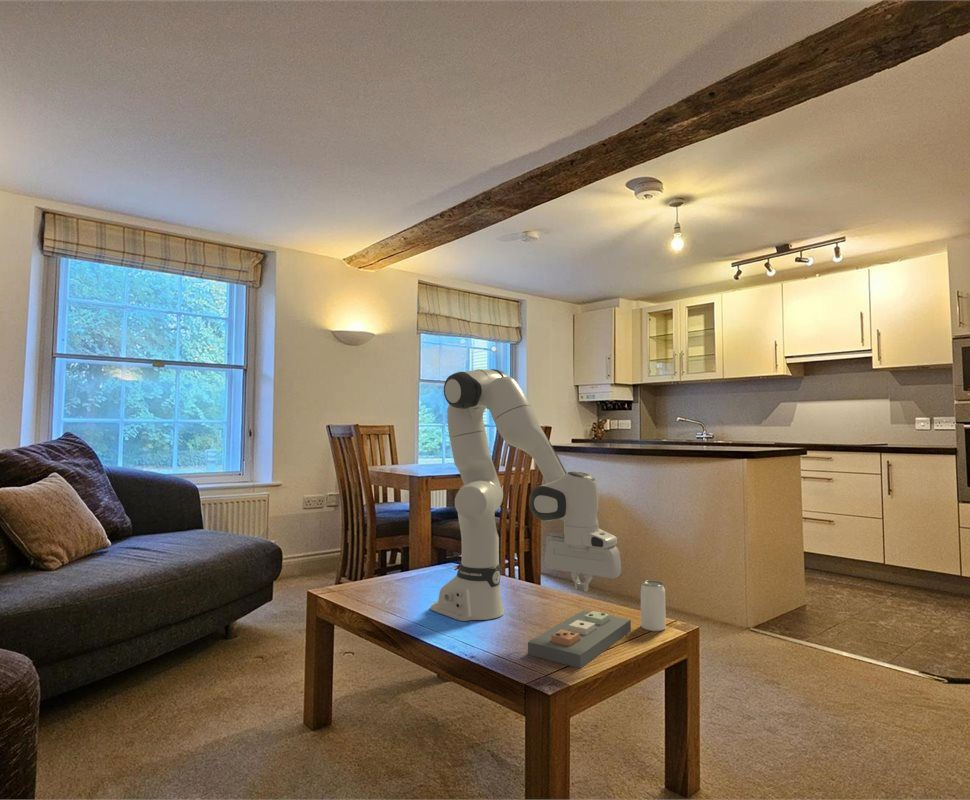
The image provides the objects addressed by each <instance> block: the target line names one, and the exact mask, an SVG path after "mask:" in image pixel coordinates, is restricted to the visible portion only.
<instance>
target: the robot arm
mask: <svg viewBox="0 0 970 800" xmlns="http://www.w3.org/2000/svg"><path fill="white" fill-rule="evenodd" d="M443 396H444V400H445V401H446V402H447V403H448V406H447V408H446V409H447V410H446V411H447V413H446V414H447V415H446V417H447V431H448V435H449V442H450V448H451V452H452V457H453V463H454V465H455V467H456V469H457V470H458V472H459V475H460V477H461V480H462V483H463V485H462V486H461V487H460V488H459V490H458V491H457V492H456V495H455V497H454V508H455V510H456V512H457V517H458V524H459V530H460V535H461V536H460V538H461V562H460V563H458V565H455V566H453V567H454V569H453V570H454V571H456V570H457V572H456V575H455V576H454V577H453V578H452V579H450V580H449V581H448V582H446V583H445V584H444V585H442V587H441V588H440V591H439V594H438V600H437V601H434V603H432V604H431V605H430V610H431V611H433V612H435V613H438V614H441V615H443V616H446V617H449V618H452V619H454V620H456V621H457V620H458V621H459V622H467V621H482V620H483V621H484V620H485V621H486V620H492V619H497V618H500V617H502V616H503V615H504V614H505V609H504V605H503V601H502V600H503V599H502V594H501V587H500V586H501V584H500V583H501V564H500V552H499V551H500V547H499V546H500V536H499V533H498V531H497V524H496V523H497V522H496V516H495V515H496V514H495V513H496V512H495V511H497V510H498V509H499V508H500V507H501V505H502V503H503V499H504V490H503V488H502V486H501V482H500V480H499V476H498V473H497V470H496V467H495V465H494V462H493V459H492V455H491V451H490V447H489V442H488V437H487V431H486V426H485V422H484V417H483V416H484V412H485V410H486V409H487V410H488V411H489V412H490V414H491V417H492V419H493V422H494V424H495V427H496V429H497V432H498V433H499V435H500V436H501V438H502V439H503V440H504V442H505V443H507V444H508V445H509V446H512V447H515V448H516V449H519V450H520V451H523V452H525V453H527V455H529V456H530V457H531V458H532V459H533V461H534V462H535V463H536V465H537V467H538V469H539V471H540V473H541V475H542V477H543V479H544V481H545V482H546V483H544V484H542V485H539V486H536V487H535V488H533V489H532V491H531V493H530V495H529V498H528V499H529V500H528V505H529V509H530V511H531V513H532V515H533V516H534V517H535V518H536V519H538V520H541V521H545V522H551V521H556V520H561V521H563V533H561V532H559V533H558V532H550V533H549V534H547V535H546V537H545V546H546V547H545V553H544V565H545V567H546V568H547V569H551V570H557V571H563V572H570V576H571V579H572V580H573V583H574V588H575V589H574V590H575V591H579V592H583V593H584V592H585V593H586V592H588V591H589V584H590V582H591V581H592V579H593V578H594V577H593V576H596V577H599V578H601V577H603V578H606V579H607V578H608V579H616V578H617V577H619V576H620V575H621V573H622V561H621V560H622V559H621V553H620V550H619V548H618V547H617V546H616V545H617V544H618V537H617V536H615V535H614V534H611V533H609V532H608V531H605V530H603V529H601V528H600V525H599V519H598V511H599V493H598V491H599V490H598V485H597V482H596V479H595V477H593V475H590V474H589V473H585V472H582V471H581V472H580V471H568V472H567V471H566V469H565V467H564V466H563V464H562V462H561V459H560V458H559V456H558V454H557V452H556V451H555V449H554V447H553V445H552V443H551V441H550V440H549V438H548V436H546V435H547V434H545V432H544V430H543V429H542V427H541V425H540V423H539V421H538V419H537V417H536V415H535V412H534V411H533V408H532V406H531V403H530V402H529V400H528V397H527V396H526V393H524V391H523V389H522V387H521V386H520V385H519V383H518V382H517V380H515V379H514V378H513V377H511V376H508V374H507V373H505V372H504V371H503V370H502V371H501V370H500V369H495V368H492V369H486V368H485V369H484V368H481V369H479V368H478V369H474V370H473V369H472V370H467V371H458V372H454V373H452V374H450V375H449V376H448V377H447V378H446V380H445V381H444V384H443ZM580 574H582V575H583V578H584V579H585V580H584V582H581V580H580V577H579V576H580Z"/></svg>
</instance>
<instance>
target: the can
mask: <svg viewBox="0 0 970 800" xmlns="http://www.w3.org/2000/svg"><path fill="white" fill-rule="evenodd" d="M666 623H667V621H666V589H665V587H664V583H663V582H660V581H657V580H644V581H642V582H641V587H640V626H641V628H642V629H644V630H645V631H648V630H649V632H662V631H665V629H666Z"/></svg>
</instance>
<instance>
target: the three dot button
mask: <svg viewBox="0 0 970 800" xmlns="http://www.w3.org/2000/svg"><path fill="white" fill-rule="evenodd" d="M578 641H579V633H575V632H570V631H566V630H559V631H558V632H556V633H554V634H553V635H551V642H553V643H557V644H561V645H565V646H569V647H571V646H572V645H574V644H575V643H577V642H578Z"/></svg>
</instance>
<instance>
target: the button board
mask: <svg viewBox="0 0 970 800" xmlns="http://www.w3.org/2000/svg"><path fill="white" fill-rule="evenodd" d="M590 612H591V611H588V610H586V609H585V610H581V611H580V612H578V613H576V614H574V615H573V616H571V617H569V618H567V619H566V620H564V621H562V622H560V623H559V624H557V625H555V626H553V627H551V628H549V629H548V630H546V631H545V632H543V633H541V634H539V635H537V636H536V637H534V638H533V639H531V640H529V641H527V655H528V656H532V657H535V658H539V659H544V660H547V661H550V662H554V663H559V664H562V665H565V666H570V667H573V668H577V669H582V668H583V667H585V666H586V665H587V664H589V663H590V662H591V661H593V660H595V658H597V657H598V656H599V655H601V654H602V653H603V652H605V651H606V650H607V649H608V648H611V647H612V646H613V645H614V644H616V643H617V642H619V639H620V640H621V639H622V638H624V637H625V636H627V633H628V632H629V633H630V632H631V631H632V625H631V624H632V621H631V619H629V618H626V617H625V618H624V617H619V616H615V615H610V621H609V622H607V623H606V624H604V625H603V626H602V625H597V624H595V631H594V632H592V633H591V634H589V635H588V636H586V635H582V634H579V641H578V642H577V643H575V644H574V645H572V646H571V647H569V646H565V645H561V644H557V643H553V642H551V635H553V634H554V633H556V632H558V631H559V630H566V631H569V625H570V624H571V623H573V622H575V621H576V620H581V621H584V616H585V615H586V614H588V613H590ZM629 633H628V634H629ZM624 635H625V636H624ZM623 636H624V637H623ZM615 642H616V643H615Z"/></svg>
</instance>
